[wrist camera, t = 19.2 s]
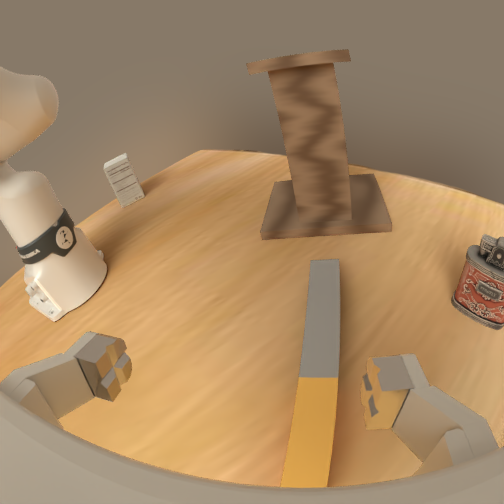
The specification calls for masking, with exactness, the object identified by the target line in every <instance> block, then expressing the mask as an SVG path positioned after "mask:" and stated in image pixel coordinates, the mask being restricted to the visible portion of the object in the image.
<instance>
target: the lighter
mask: <svg viewBox="0 0 504 504" xmlns="http://www.w3.org/2000/svg"><path fill="white" fill-rule="evenodd" d="M452 305H453V306H454V307H455V308H456V309H457V310H458V311H460V312H461V313H462V314H464V315H465V316H467V317H469V318H470V319H472V320H473V321H475V322H477V323H480V324H482V325H484V326H486V327H489V328H492V329H495V330H500V329H501V328H503V326H504V237H499V238H498V239H495V238H493V237H491V236H489V235H486V234H484V235H483V236H482V240H481V243H480V246H478V245H472V246H470V247H469V248H468V251H467V254H466V263H465V266H464V269H463V272H462V275H461V278H460V281H459V284H458V287H457V290H456V291H455V292H454V294H453V297H452Z"/></svg>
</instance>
